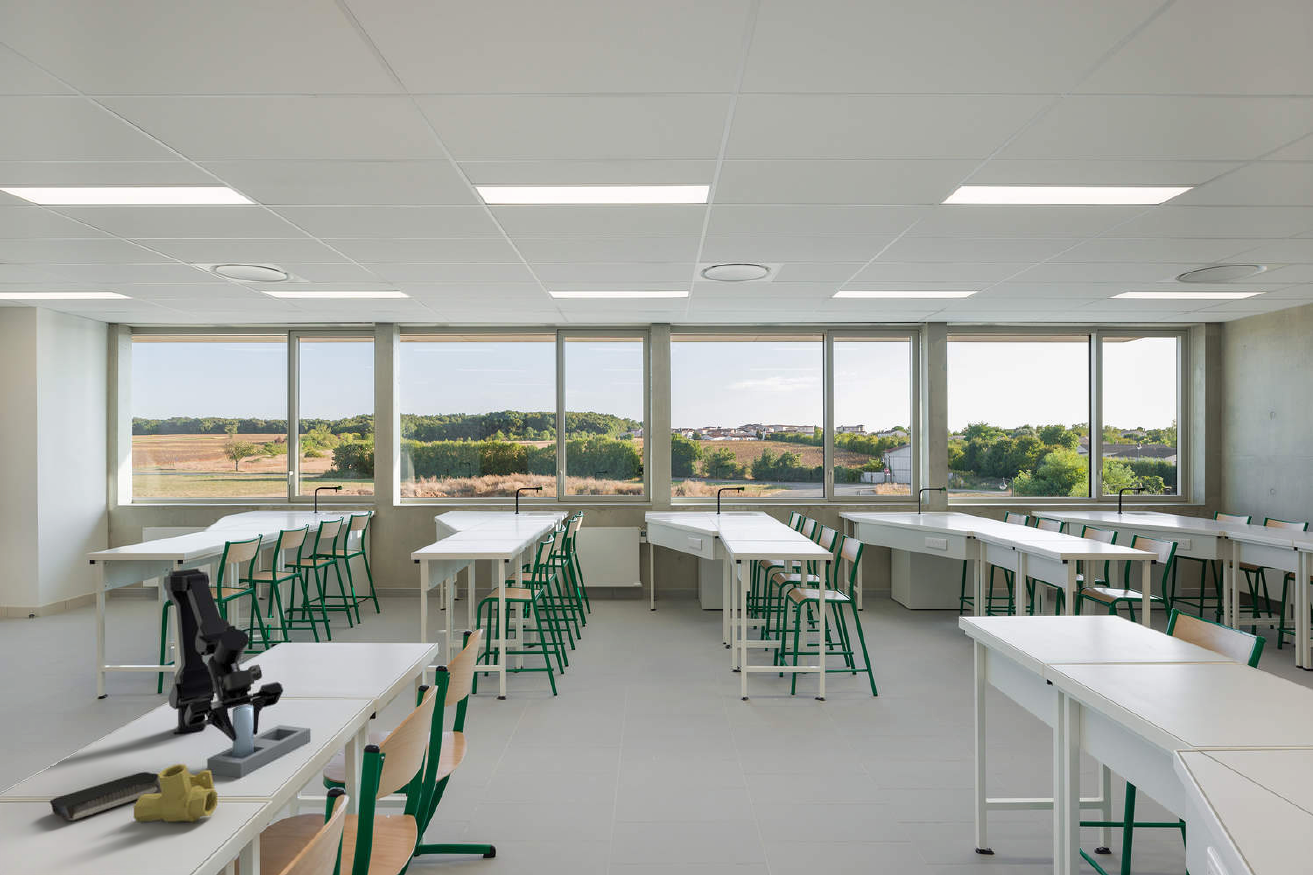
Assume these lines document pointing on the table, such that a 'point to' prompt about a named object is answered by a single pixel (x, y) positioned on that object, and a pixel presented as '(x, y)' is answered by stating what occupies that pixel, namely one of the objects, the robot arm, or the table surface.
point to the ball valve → (178, 797)
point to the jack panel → (260, 751)
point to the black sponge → (105, 796)
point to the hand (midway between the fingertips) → (245, 736)
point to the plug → (243, 731)
